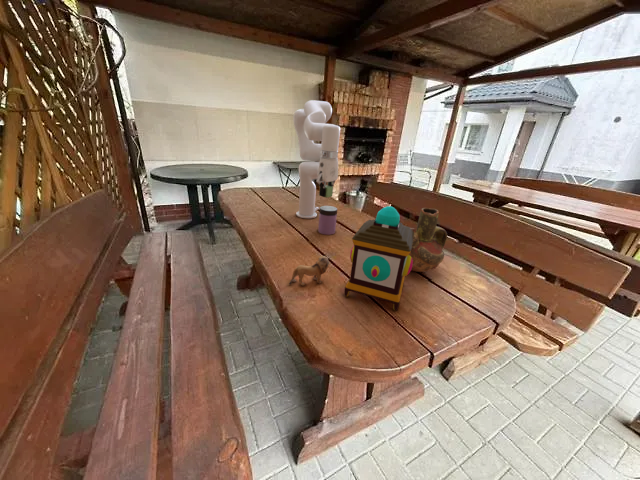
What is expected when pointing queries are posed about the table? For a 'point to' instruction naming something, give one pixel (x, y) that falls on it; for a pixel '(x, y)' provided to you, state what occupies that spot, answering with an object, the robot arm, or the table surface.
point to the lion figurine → (311, 270)
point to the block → (328, 191)
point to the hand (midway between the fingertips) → (325, 194)
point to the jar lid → (328, 210)
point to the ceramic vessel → (427, 242)
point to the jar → (327, 224)
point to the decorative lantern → (381, 257)
